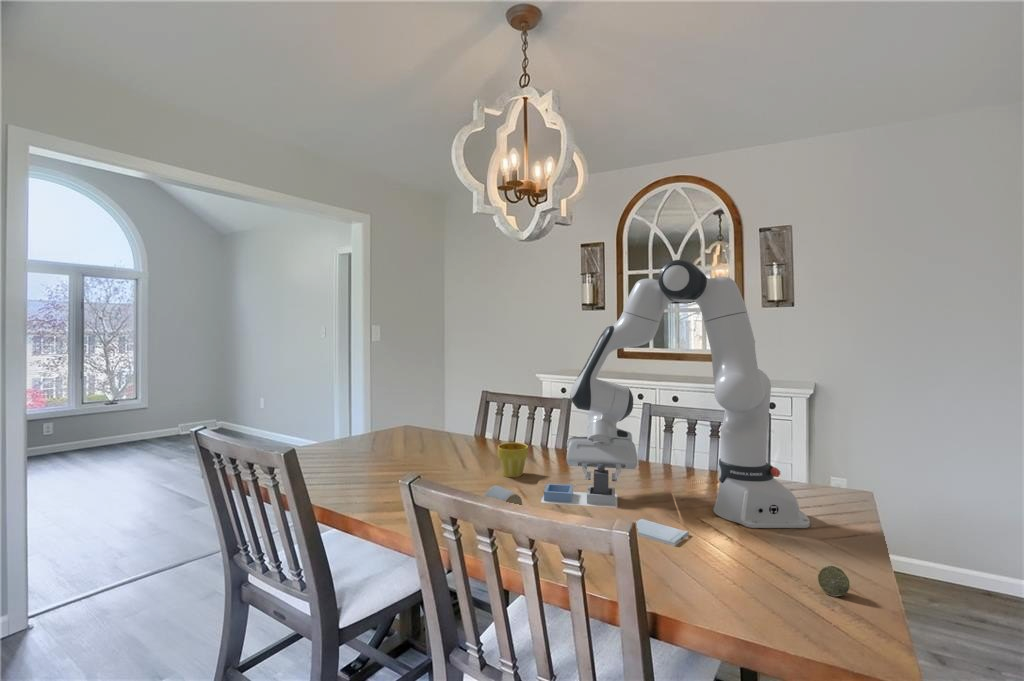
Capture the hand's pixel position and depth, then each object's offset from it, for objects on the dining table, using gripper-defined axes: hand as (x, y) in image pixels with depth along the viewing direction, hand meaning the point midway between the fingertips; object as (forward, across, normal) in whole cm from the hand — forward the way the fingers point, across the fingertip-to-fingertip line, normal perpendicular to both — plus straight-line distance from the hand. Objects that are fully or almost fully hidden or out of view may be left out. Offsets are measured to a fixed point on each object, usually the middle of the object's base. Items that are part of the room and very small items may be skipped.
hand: (601, 479), depth 143 cm
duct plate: (+4, -6, +5) cm, 9 cm away
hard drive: (+18, +14, -7) cm, 24 cm away
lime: (+33, +44, -23) cm, 60 cm away
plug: (+4, 0, +5) cm, 6 cm away
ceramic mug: (+15, -24, -5) cm, 29 cm away
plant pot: (-11, -30, +21) cm, 39 cm away
